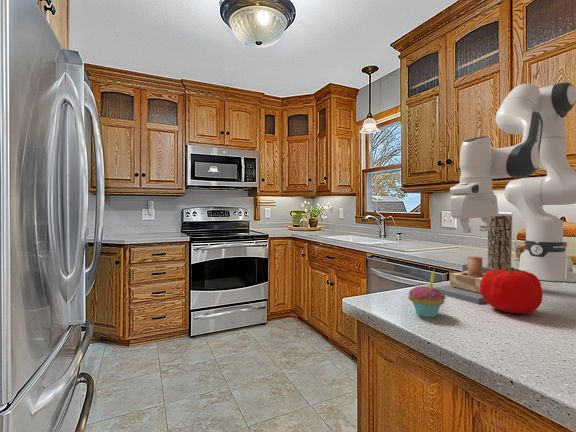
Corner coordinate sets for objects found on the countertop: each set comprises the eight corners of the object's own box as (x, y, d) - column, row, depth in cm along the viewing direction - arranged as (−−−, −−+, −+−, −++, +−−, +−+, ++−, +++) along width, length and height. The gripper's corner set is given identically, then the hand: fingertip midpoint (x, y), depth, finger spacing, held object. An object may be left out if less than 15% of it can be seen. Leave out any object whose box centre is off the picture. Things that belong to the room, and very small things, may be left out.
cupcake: (449, 314, 79) (449, 267, 79) (437, 323, 73) (437, 272, 73) (416, 306, 85) (416, 263, 85) (402, 314, 79) (402, 267, 79)
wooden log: (515, 288, 103) (515, 214, 103) (492, 287, 105) (493, 214, 104) (505, 283, 110) (505, 213, 109) (484, 283, 111) (484, 213, 111)
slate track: (466, 285, 108) (466, 264, 108) (511, 294, 96) (511, 271, 96) (433, 292, 99) (433, 269, 99) (478, 304, 87) (478, 277, 87)
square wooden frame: (468, 282, 105) (468, 270, 105) (500, 288, 96) (500, 276, 96) (450, 286, 100) (450, 273, 100) (482, 293, 91) (482, 279, 91)
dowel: (472, 286, 101) (472, 255, 101) (484, 288, 97) (485, 257, 97) (464, 287, 99) (465, 256, 99) (477, 290, 96) (477, 258, 95)
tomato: (548, 323, 72) (548, 274, 72) (481, 314, 79) (481, 269, 79) (536, 308, 83) (536, 265, 83) (478, 301, 90) (478, 261, 89)
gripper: (483, 189, 105) (483, 229, 106) (446, 188, 95) (446, 233, 96) (503, 188, 100) (503, 230, 100) (466, 187, 90) (466, 234, 90)
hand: (475, 232), depth 98 cm, fingers open, 8 cm apart
